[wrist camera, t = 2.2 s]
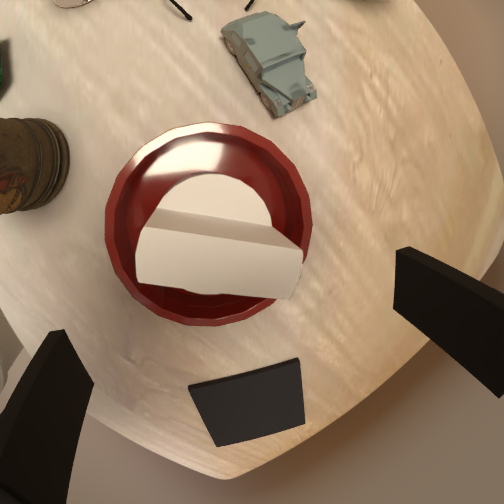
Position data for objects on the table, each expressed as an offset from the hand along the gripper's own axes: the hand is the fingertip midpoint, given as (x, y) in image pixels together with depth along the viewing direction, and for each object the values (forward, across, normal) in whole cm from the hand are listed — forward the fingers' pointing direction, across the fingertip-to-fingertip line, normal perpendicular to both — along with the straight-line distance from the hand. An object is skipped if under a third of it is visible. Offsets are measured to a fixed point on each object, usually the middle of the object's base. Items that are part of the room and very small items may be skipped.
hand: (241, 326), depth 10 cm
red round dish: (+18, 0, 0) cm, 18 cm away
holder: (+18, 0, -26) cm, 31 cm away
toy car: (+18, +9, +14) cm, 25 cm away
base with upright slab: (+18, 0, 0) cm, 18 cm away
